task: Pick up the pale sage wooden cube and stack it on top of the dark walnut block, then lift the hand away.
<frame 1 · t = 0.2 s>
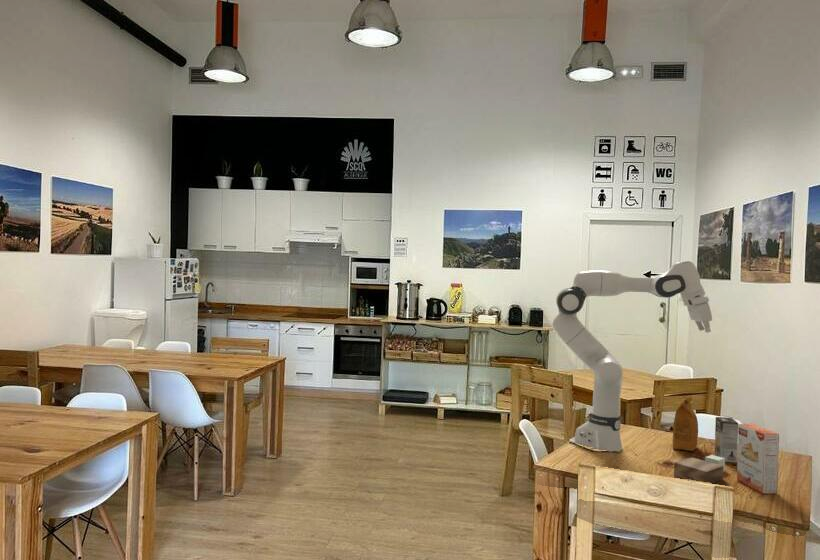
hand: (705, 331, 245), 52 cm above the table, tool tilted 20°, fingers open, 8 cm apart
cracker box: (756, 487, 211), on the table
coffee box: (725, 459, 244), on the table
walnut block: (698, 477, 219), on the table
coffee package: (685, 448, 257), on the table
sage cube: (714, 470, 228), on the table
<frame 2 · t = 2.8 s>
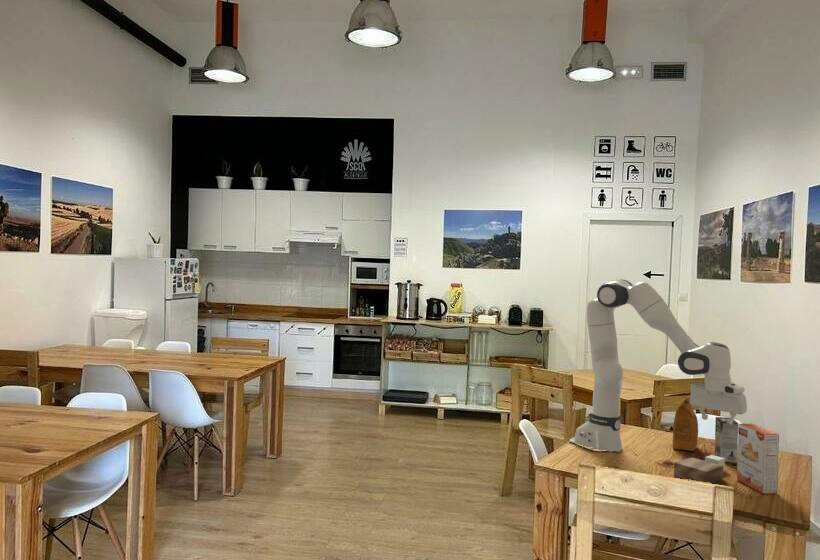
hand: (717, 421, 228), 19 cm above the table, tool pointing down, fingers open, 8 cm apart
nothing on the table moved.
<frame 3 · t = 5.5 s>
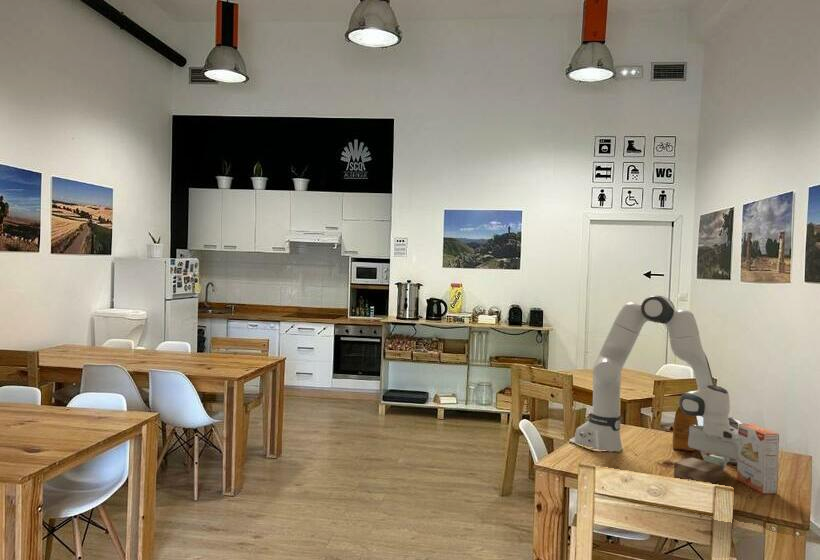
hand: (714, 465, 228), 2 cm above the table, tool pointing down, fingers closed on sage cube, 5 cm apart
sage cube: (714, 470, 228), on the table, touching gripper
everything else where it was.
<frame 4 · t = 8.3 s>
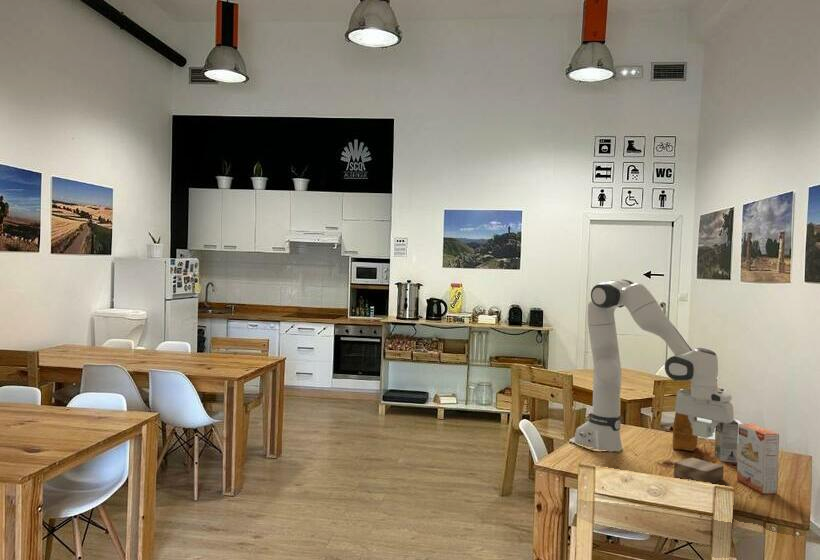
hand: (702, 430, 221), 17 cm above the table, tool pointing down, fingers closed on sage cube, 5 cm apart
sage cube: (702, 435, 221), point 15 cm above the table, touching gripper
everything else where it was.
when the fingers open (9 cm above the table, at t = 10.9 s): sage cube drops 2 cm, resting on walnut block.
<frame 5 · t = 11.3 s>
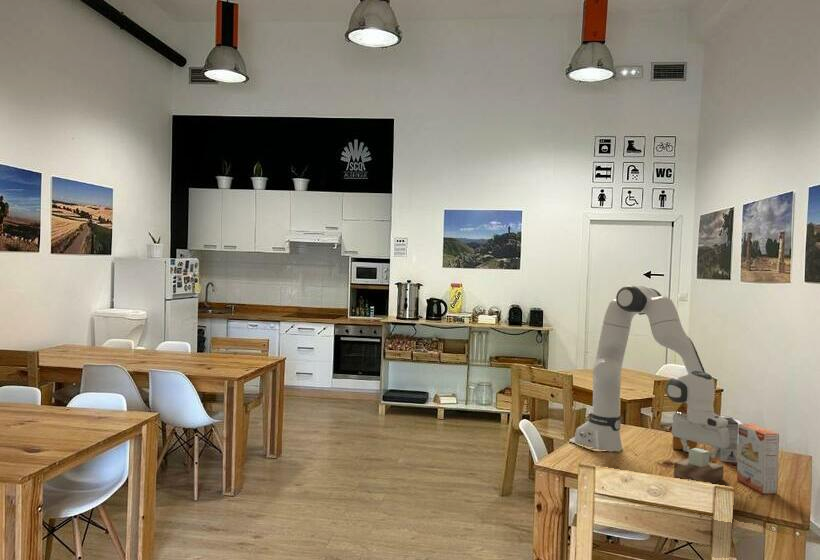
hand: (698, 454, 219), 9 cm above the table, tool pointing down, fingers open, 8 cm apart
sage cube: (698, 464, 219), point 5 cm above the table, touching walnut block
everything else where it was.
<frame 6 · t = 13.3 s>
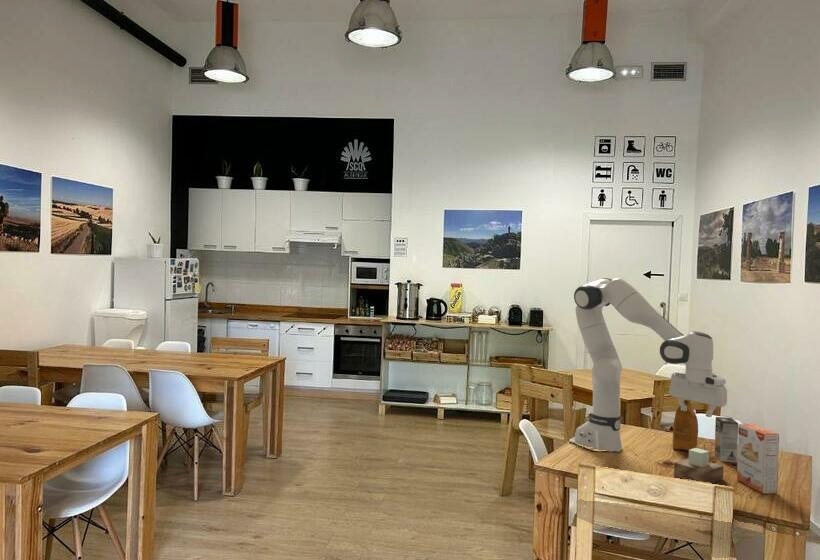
hand: (696, 413, 221), 23 cm above the table, tool pointing down, fingers open, 8 cm apart
nothing on the table moved.
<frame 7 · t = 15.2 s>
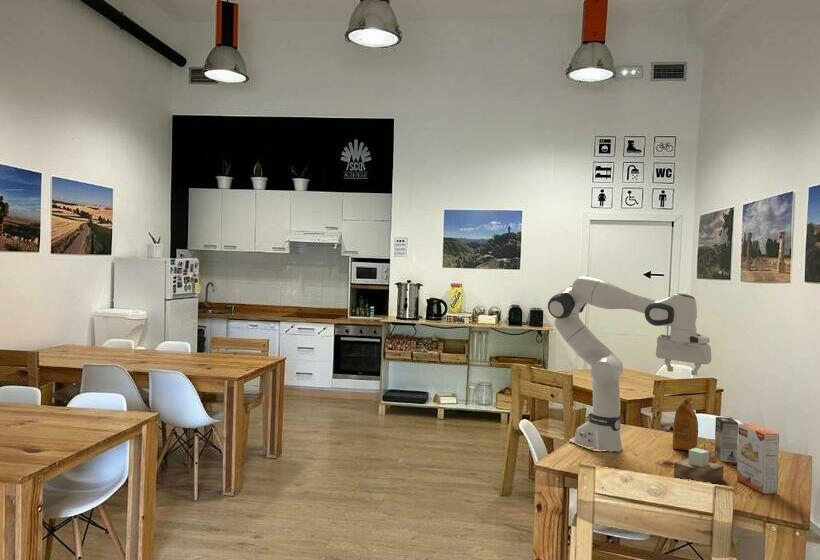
hand: (682, 373, 226), 37 cm above the table, tool pointing down, fingers open, 8 cm apart
nothing on the table moved.
at the end: sage cube inside the target area on the walnut block (0.1 cm from its centre), point 5.0 cm above the walnut block's base; sage cube tilted 0°; the gripper is holding nothing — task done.
